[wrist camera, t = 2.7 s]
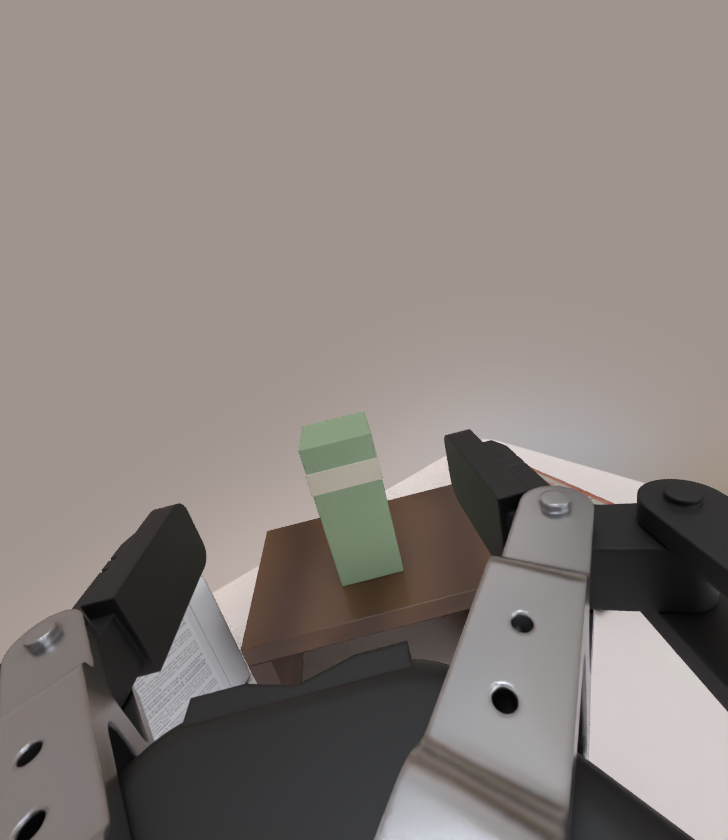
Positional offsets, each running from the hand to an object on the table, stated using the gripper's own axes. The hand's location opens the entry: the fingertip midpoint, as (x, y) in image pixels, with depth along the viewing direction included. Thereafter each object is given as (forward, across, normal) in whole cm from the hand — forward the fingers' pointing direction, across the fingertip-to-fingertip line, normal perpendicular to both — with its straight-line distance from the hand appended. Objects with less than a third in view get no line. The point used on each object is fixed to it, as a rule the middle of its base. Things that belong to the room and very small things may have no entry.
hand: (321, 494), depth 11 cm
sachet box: (+13, 0, +14) cm, 19 cm away
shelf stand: (+14, 0, +22) cm, 26 cm away
